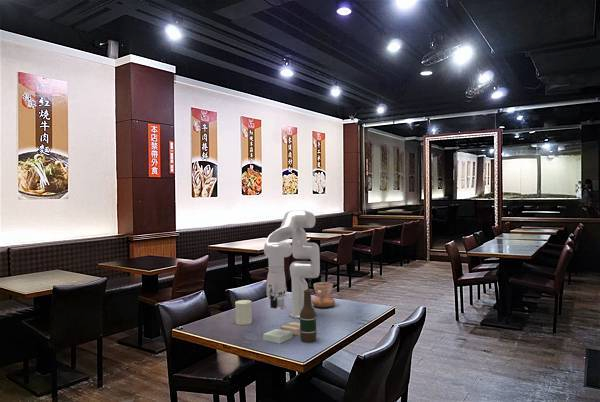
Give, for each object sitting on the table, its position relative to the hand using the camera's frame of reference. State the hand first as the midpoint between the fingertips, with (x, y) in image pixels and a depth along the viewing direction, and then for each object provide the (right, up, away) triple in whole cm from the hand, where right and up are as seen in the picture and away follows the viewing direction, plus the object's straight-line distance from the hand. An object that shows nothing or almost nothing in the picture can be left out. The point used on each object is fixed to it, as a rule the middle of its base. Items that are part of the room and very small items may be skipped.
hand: (277, 306), depth 210 cm
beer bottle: (+15, -16, -2) cm, 22 cm away
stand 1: (0, -16, 0) cm, 16 cm away
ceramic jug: (+26, -16, +64) cm, 71 cm away
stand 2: (+8, -16, +12) cm, 21 cm away
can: (-20, -17, +30) cm, 40 cm away
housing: (0, -1, 0) cm, 1 cm away
